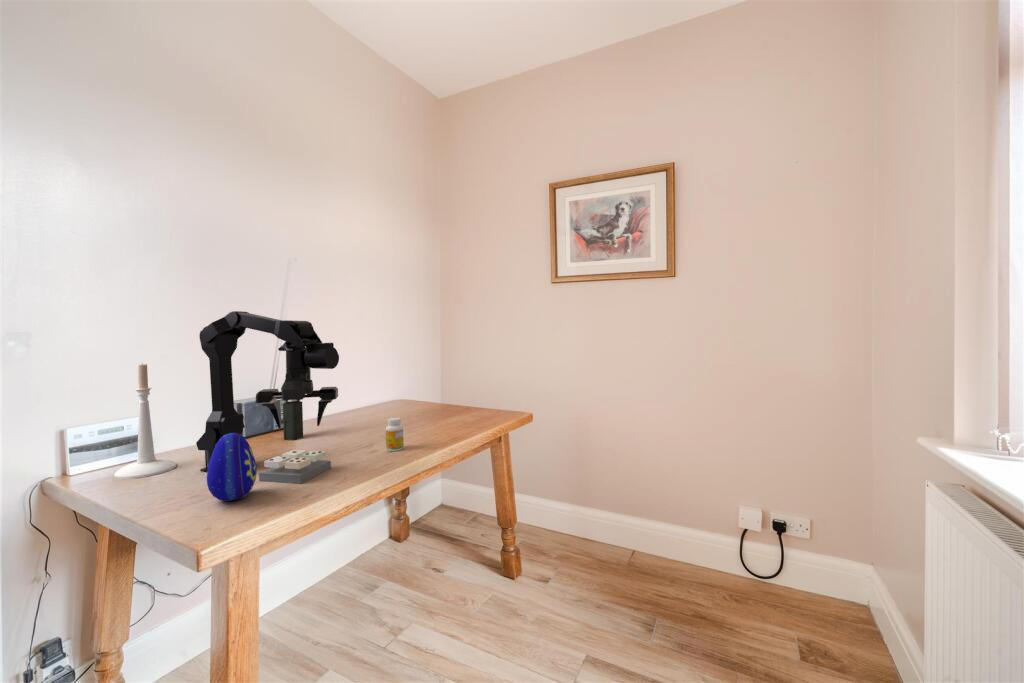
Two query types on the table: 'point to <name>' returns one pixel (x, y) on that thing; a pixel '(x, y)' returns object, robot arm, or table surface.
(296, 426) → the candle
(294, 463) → the key four dot
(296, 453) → the key one dot
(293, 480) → the keypad board
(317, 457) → the key three dot
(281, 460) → the key two dot
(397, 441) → the supplement bottle
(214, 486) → the ornament
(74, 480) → the table surface
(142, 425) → the candlestick
